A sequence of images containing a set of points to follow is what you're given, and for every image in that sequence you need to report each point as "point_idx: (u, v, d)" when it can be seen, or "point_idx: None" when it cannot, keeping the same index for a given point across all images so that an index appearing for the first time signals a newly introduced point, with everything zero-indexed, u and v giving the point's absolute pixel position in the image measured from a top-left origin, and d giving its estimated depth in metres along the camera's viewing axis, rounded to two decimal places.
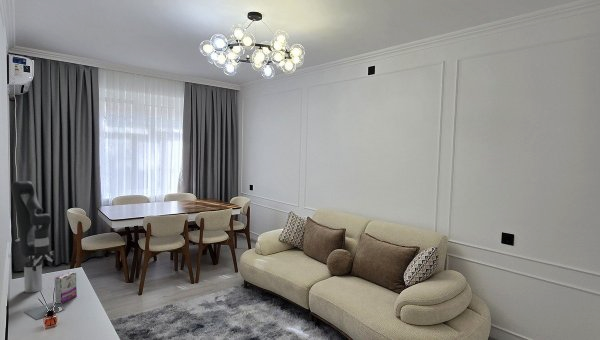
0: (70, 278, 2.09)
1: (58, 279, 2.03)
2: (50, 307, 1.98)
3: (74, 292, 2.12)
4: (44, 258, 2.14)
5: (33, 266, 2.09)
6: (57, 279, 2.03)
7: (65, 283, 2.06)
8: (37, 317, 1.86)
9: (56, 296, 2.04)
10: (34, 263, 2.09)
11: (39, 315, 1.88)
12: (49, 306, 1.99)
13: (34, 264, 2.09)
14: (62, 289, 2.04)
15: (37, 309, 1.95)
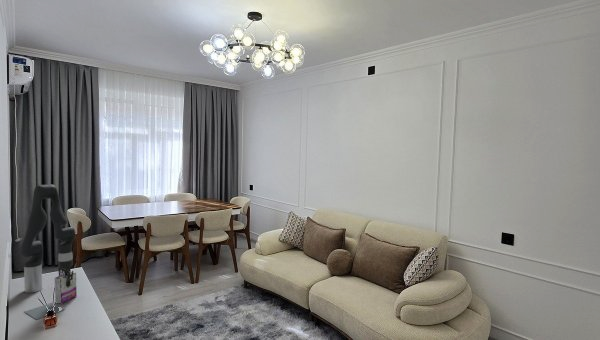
0: None
1: (58, 279, 2.03)
2: (50, 307, 1.98)
3: (74, 292, 2.12)
4: None
5: (70, 280, 2.07)
6: (57, 279, 2.03)
7: (65, 283, 2.06)
8: (37, 317, 1.86)
9: (56, 296, 2.04)
10: (70, 277, 2.08)
11: (39, 315, 1.88)
12: (49, 306, 1.99)
13: None
14: (62, 289, 2.04)
15: (37, 309, 1.95)
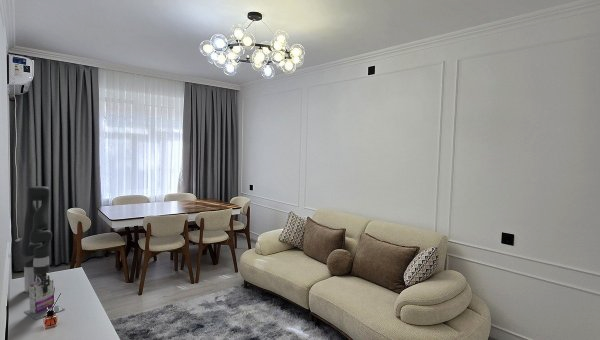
0: None
1: (32, 287, 1.89)
2: (50, 307, 1.98)
3: (51, 301, 1.99)
4: None
5: (47, 286, 1.93)
6: (32, 287, 1.90)
7: (40, 291, 1.92)
8: (37, 317, 1.86)
9: (30, 305, 1.91)
10: None
11: (39, 315, 1.88)
12: None
13: None
14: (37, 298, 1.90)
15: None
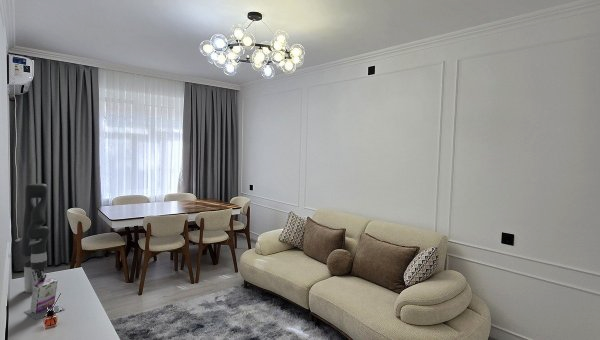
0: (50, 287, 1.95)
1: (37, 287, 1.89)
2: (50, 307, 1.98)
3: (52, 301, 1.98)
4: None
5: None
6: (36, 288, 1.89)
7: (43, 292, 1.92)
8: (37, 317, 1.86)
9: (32, 304, 1.90)
10: None
11: (39, 315, 1.88)
12: None
13: None
14: (39, 298, 1.90)
15: None
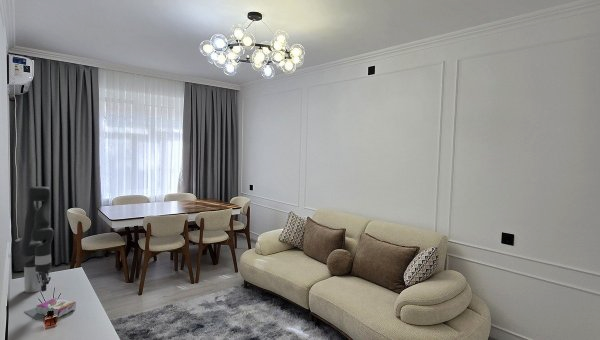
0: None
1: (57, 314, 1.86)
2: None
3: None
4: None
5: (45, 285, 1.94)
6: (56, 313, 1.86)
7: None
8: (37, 317, 1.86)
9: (42, 308, 1.89)
10: None
11: (39, 315, 1.88)
12: None
13: None
14: None
15: None
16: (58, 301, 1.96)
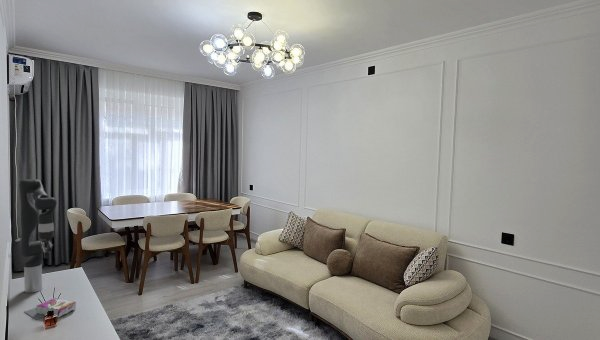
0: None
1: (57, 314, 1.86)
2: None
3: None
4: None
5: (48, 252, 2.01)
6: (56, 313, 1.86)
7: None
8: (37, 317, 1.86)
9: (42, 308, 1.89)
10: None
11: (39, 315, 1.88)
12: None
13: None
14: None
15: None
16: (58, 301, 1.96)
